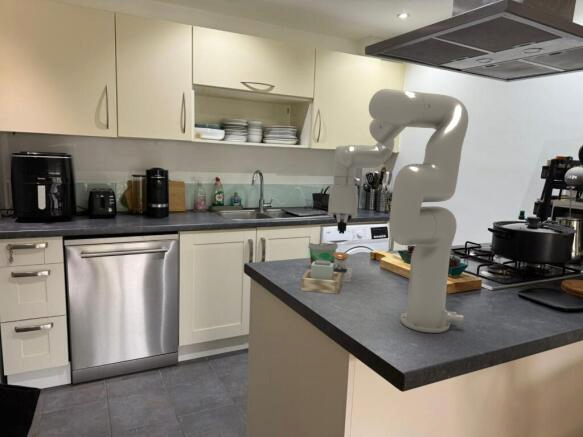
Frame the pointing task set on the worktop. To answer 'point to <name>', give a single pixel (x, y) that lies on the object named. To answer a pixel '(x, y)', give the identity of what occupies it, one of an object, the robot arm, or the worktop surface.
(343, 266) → the plunger
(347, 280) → the plunger base
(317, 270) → the pale green box
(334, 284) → the bay
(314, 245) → the food container
